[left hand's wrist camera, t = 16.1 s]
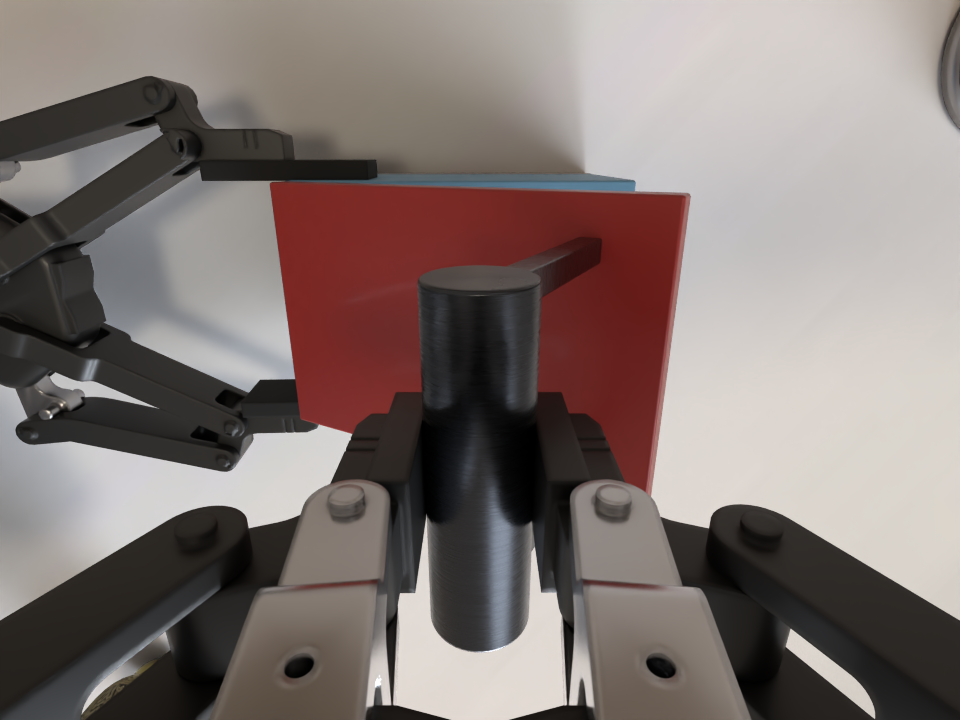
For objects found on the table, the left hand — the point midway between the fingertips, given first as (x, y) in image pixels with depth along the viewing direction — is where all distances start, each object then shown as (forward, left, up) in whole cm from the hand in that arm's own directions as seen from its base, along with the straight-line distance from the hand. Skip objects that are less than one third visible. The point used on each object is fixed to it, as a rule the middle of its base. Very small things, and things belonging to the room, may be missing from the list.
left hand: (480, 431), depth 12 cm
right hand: (+3, -3, -13) cm, 14 cm away
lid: (0, 0, -8) cm, 8 cm away
